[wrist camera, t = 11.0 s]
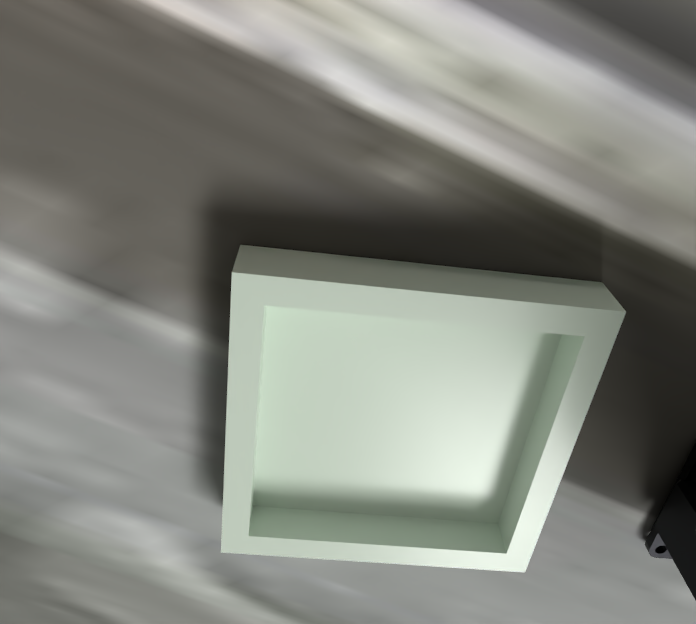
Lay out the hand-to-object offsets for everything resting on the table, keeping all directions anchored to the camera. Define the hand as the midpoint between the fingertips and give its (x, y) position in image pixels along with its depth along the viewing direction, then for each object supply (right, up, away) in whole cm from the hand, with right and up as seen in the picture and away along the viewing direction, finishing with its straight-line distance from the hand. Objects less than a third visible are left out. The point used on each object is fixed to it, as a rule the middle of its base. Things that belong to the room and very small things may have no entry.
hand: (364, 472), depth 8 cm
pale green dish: (+2, -2, +16) cm, 16 cm away
